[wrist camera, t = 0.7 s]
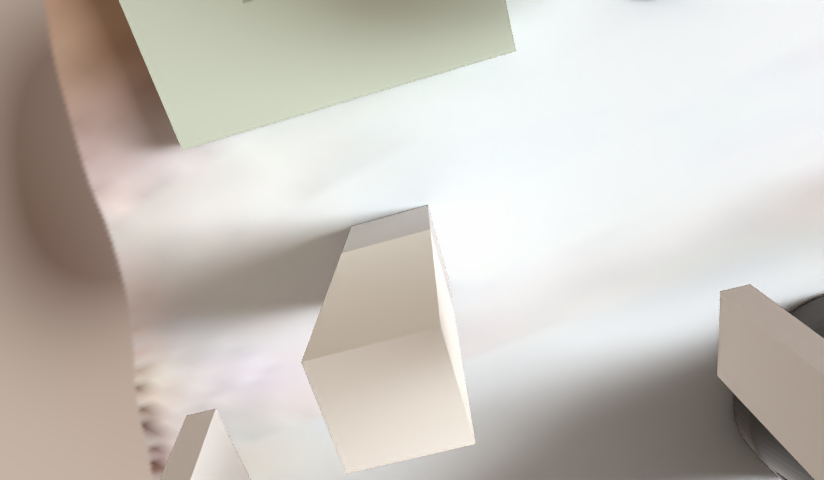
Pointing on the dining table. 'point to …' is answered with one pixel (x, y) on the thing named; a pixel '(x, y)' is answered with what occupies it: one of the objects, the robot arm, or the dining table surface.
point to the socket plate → (300, 54)
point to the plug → (390, 347)
